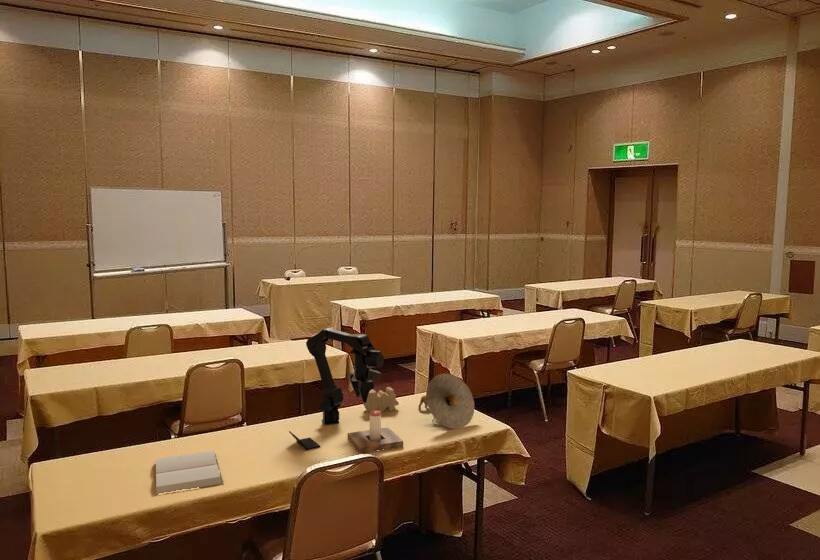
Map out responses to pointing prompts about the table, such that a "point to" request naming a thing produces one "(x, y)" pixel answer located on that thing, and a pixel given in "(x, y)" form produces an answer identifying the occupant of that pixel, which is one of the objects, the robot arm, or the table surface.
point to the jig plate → (365, 445)
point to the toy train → (381, 400)
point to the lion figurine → (423, 399)
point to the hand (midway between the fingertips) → (361, 399)
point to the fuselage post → (375, 425)
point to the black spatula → (306, 443)
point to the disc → (450, 401)
